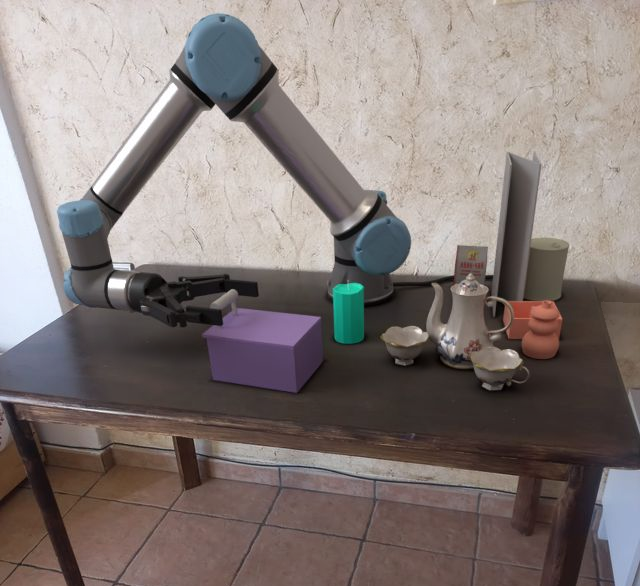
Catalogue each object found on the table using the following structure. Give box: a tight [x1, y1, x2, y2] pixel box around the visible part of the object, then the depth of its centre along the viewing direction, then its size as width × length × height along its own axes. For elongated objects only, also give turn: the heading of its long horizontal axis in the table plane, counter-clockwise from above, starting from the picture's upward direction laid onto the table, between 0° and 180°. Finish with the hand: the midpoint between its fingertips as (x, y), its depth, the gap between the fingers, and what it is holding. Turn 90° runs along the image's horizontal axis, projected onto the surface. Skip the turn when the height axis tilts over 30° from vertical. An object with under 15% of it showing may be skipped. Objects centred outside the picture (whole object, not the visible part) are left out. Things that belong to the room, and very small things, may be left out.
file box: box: [206, 320, 324, 394], centre depth 112 cm, size 17×13×8 cm
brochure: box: [490, 150, 543, 318], centre depth 127 cm, size 14×6×30 cm, turn 168°
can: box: [523, 237, 570, 302], centre depth 136 cm, size 9×9×12 cm
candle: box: [332, 283, 365, 345], centre depth 121 cm, size 6×6×12 cm
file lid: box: [201, 289, 322, 349], centre depth 108 cm, size 17×13×5 cm
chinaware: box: [379, 273, 530, 391], centre depth 108 cm, size 28×17×17 cm, turn 58°
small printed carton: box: [452, 244, 489, 286], centre depth 142 cm, size 4×7×10 cm, turn 71°
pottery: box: [502, 300, 563, 360], centre depth 117 cm, size 18×10×10 cm, turn 173°
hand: (240, 303), depth 108 cm, fingers open, 13 cm apart
